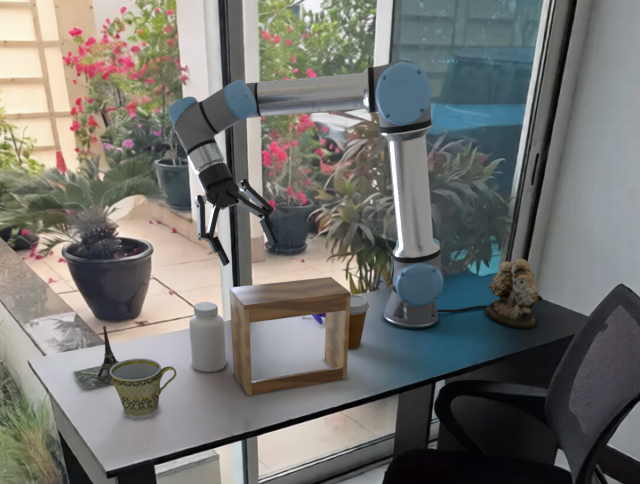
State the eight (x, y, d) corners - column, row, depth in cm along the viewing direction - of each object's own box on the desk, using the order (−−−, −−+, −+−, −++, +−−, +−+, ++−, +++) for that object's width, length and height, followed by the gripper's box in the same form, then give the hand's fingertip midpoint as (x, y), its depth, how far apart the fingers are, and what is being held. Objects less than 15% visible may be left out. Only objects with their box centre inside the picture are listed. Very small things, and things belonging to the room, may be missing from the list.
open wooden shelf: (233, 374, 153) (229, 287, 142) (328, 359, 162) (330, 276, 150) (247, 395, 144) (244, 305, 133) (346, 378, 153) (350, 292, 142)
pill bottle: (219, 374, 153) (215, 313, 145) (187, 370, 154) (181, 310, 146) (231, 360, 159) (228, 301, 151) (199, 356, 160) (195, 298, 153)
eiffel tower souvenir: (138, 360, 157) (131, 307, 150) (151, 377, 150) (144, 322, 143) (73, 373, 151) (63, 318, 144) (84, 391, 143) (73, 335, 136)
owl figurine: (472, 310, 194) (481, 253, 185) (502, 304, 199) (512, 248, 190) (514, 332, 181) (526, 271, 172) (545, 325, 186) (558, 266, 177)
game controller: (321, 319, 174) (300, 300, 179) (324, 341, 180) (304, 323, 185) (351, 302, 177) (329, 284, 182) (353, 324, 183) (332, 307, 189)
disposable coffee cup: (347, 334, 175) (349, 291, 169) (373, 345, 170) (377, 301, 163) (322, 343, 170) (323, 299, 163) (348, 355, 164) (350, 310, 158)
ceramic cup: (120, 427, 131) (113, 383, 126) (113, 404, 139) (106, 362, 134) (184, 416, 136) (180, 373, 130) (174, 395, 143) (170, 353, 138)
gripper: (250, 159, 161) (287, 241, 166) (159, 190, 151) (201, 276, 155) (261, 147, 155) (299, 232, 159) (167, 178, 144) (210, 269, 148)
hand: (251, 254), depth 157 cm, fingers open, 13 cm apart
